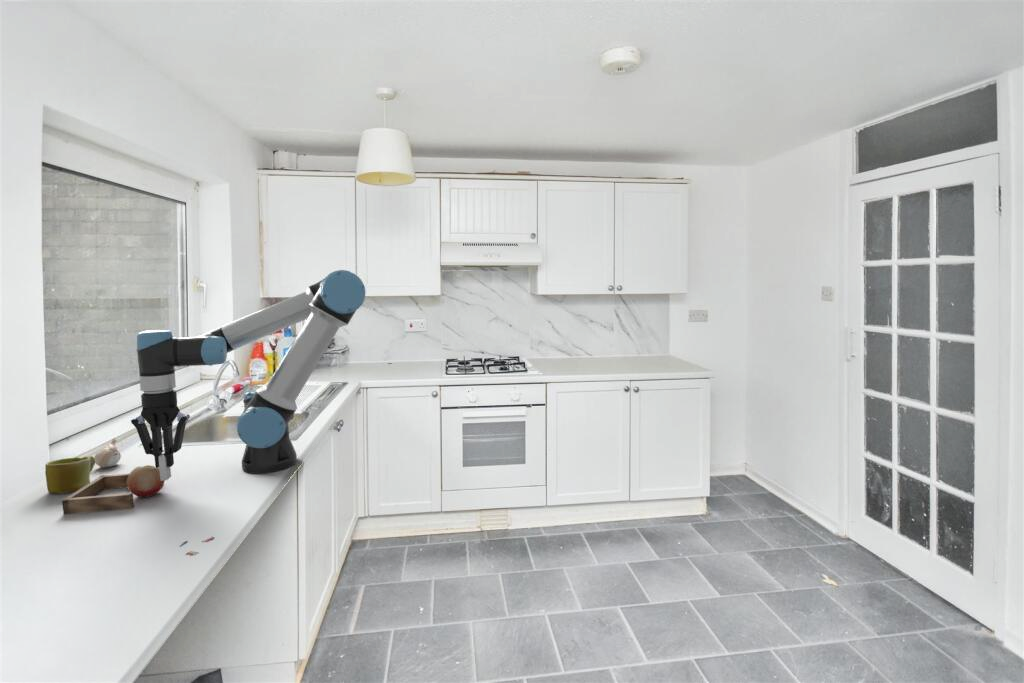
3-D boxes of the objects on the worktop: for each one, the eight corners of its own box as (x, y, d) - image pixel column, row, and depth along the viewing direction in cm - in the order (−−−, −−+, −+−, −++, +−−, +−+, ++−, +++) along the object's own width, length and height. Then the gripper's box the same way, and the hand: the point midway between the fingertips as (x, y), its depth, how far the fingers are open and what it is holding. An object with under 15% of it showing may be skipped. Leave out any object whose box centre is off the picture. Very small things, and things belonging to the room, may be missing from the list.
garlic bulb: (125, 465, 156) (123, 439, 155) (100, 471, 150) (97, 445, 149) (116, 461, 159) (113, 436, 158) (91, 467, 154) (88, 442, 153)
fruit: (173, 490, 136) (170, 462, 135) (143, 503, 128) (140, 472, 127) (151, 487, 138) (149, 459, 137) (121, 499, 131) (118, 469, 130)
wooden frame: (162, 483, 141) (160, 471, 141) (131, 508, 125) (130, 494, 125) (102, 487, 138) (101, 475, 138) (63, 514, 122) (61, 500, 122)
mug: (65, 492, 131) (60, 454, 132) (36, 501, 133) (32, 463, 134) (113, 483, 142) (108, 448, 144) (86, 492, 145) (81, 457, 146)
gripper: (192, 386, 136) (198, 471, 139) (137, 388, 133) (144, 475, 136) (180, 392, 129) (187, 482, 131) (122, 394, 126) (130, 486, 129)
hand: (165, 478), depth 134 cm, fingers closed
